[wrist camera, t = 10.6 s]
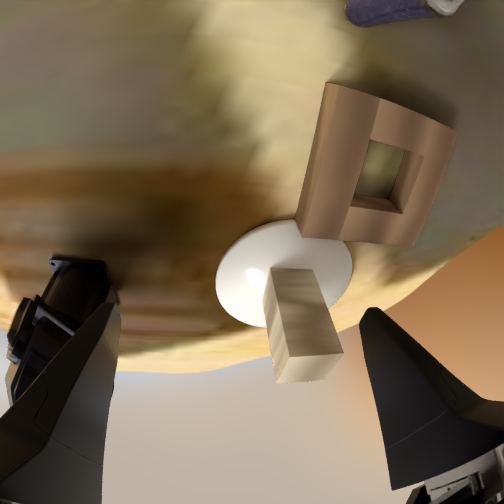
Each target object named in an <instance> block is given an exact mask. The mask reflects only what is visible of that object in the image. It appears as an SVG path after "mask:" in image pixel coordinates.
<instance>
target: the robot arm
mask: <svg viewBox="0 0 504 504" xmlns="http://www.w3.org/2000/svg"><path fill="white" fill-rule="evenodd" d="M53 262H54V263H53ZM49 265H50V267H51V270H52V273H53V276H52V278H51V279H50V281H49V283H48V285H47V287H46V289H45V291H44V293H43V295H42V297H40V296H39V295H37V294H36V295H35V297H34V298H33V299H31V298H30V299H29V298H25V297H24V298H23V299H22V300H21V302H20V304H19V306H18V308H17V310H16V312H15V314H14V317H13V319H12V322H11V324H10V327H9V330H8V333H7V338H8V342H9V344H8V352H7V359H9V360H10V361H11V363H10V366H9V369H8V371H7V374H6V377H5V381H6V387H7V393H8V399H9V404H10V408H9V409H8V410H7V412H6V413H5V414H4V415H3V416H2V417H1V418H0V504H102V503H101V502H102V474H103V458H104V447H105V438H106V429H107V421H108V414H109V407H110V401H111V397H112V394H113V390H114V377H115V372H116V367H117V359H118V348H119V338H120V329H121V317H120V314H119V310H118V307H117V304H116V302H117V298H116V295H115V291H114V287H113V283H112V282H111V281H110V278H109V274H108V270H107V265H106V263H105V262H103V261H95V260H80V259H67V258H51V259H50V261H49ZM100 266H102V267H100ZM359 329H360V334H361V339H362V346H363V351H364V358H365V362H366V367H367V370H368V374H369V378H370V382H371V386H372V390H373V394H374V399H375V403H376V407H377V412H378V416H379V421H380V426H381V431H382V436H383V441H384V445H385V452H386V458H387V464H388V470H389V476H390V483H391V488H392V490H397V489H400V488H403V487H407V486H410V485H413V484H416V483H419V482H422V481H424V484H423V485H421V486H419V487H417V488H415V489H413V491H412V493H411V495H410V497H409V498H408V500H407V503H406V504H504V402H502V401H492V400H487V399H484V398H481V397H480V396H479V395H477V394H476V393H475V392H473V391H472V390H471V389H470V388H469V387H467V386H466V385H465V384H464V383H462V382H461V381H460V380H459V379H458V378H456V377H455V376H454V375H453V374H452V373H451V372H449V371H448V370H447V369H446V368H445V367H444V366H443V365H442V364H441V363H439V361H438V360H436V359H435V358H434V357H433V356H432V355H431V354H430V353H429V352H428V351H427V350H426V349H425V348H424V347H422V346H421V345H420V344H419V343H418V342H417V341H416V340H415V339H414V338H412V337H411V336H410V335H409V334H408V333H407V332H406V331H405V330H403V329H402V328H401V327H400V326H399V325H398V324H397V323H396V322H394V321H393V320H392V319H391V318H390V317H389V316H387V315H386V314H385V313H384V312H383V311H382V310H381V309H380V308H378V307H370V308H368V309H367V310H366V312H365V313H364V315H363V317H362V318H361V320H360V323H359Z"/></svg>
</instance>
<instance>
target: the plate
mask: <svg viewBox="0 0 504 504" xmlns="http://www.w3.org/2000/svg"><path fill="white" fill-rule="evenodd" d="M352 267H353V266H352V258H351V255H350V252H349V250H348V248H347V246H346V245H345V243H344V242H343V241H342V240H329V239H315V238H302V236H301V234H300V232H299V229H298V227H297V224H296V222H295V219H290V220H280V221H276V222H271V223H268V224H265V225H262V226H259V227H257V228H255V229H253V230H251V231H249V232H248V233H246V234H244V235H243V236H241V237H240V238H239V239H238V240H236V241H235V242H234V243H233V244H232V245H231V246H230V247H229V248H228V249H227V251H226V252H225V253H224V255H223V257H222V258H221V260H220V262H219V265H218V268H217V272H216V292H217V296H218V299H219V301H220V303H221V304H222V306H223V307H224V309H225V310H226V311H227V312H228V313H229V314H230V315H232V316H233V317H235V318H236V319H238V320H240V321H242V322H244V323H247V324H250V325H254V326H258V327H266V328H267V326H266V321H265V315H264V309H263V303H262V297H263V293H264V289H265V285H266V281H267V276H268V272H269V268H291V269H313V272H314V274H315V277H316V279H317V282H318V284H319V287H320V290H321V292H322V295H323V297H324V300H325V303H326V305H327V308H328V309H329V308H330V307H331V306H333V305H334V304H335V303H336V302H337V301H338V300H339V298H340V297H341V296H342V295H343V293H344V292H345V290H346V288H347V287H348V285H349V282H350V279H351V275H352Z"/></svg>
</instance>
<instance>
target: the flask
mask: <svg viewBox="0 0 504 504" xmlns="http://www.w3.org/2000/svg"><path fill="white" fill-rule="evenodd" d="M464 1H465V0H348V1H347V3H346V4H345V5H344V11H345V15H346V20H349V21H350V22H351V23H352V24H354V25H355V26H357V27H361V28H365V27H370V26H373V25H377V24H386V23H390V22H395V21H403V20H410V19H419V18H444V17H449V16H451V15H452V14H453V13H454V12H455V11H456V10H457V9H458V8H459V7H460V6H461V5H462V3H463V2H464Z"/></svg>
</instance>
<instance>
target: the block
mask: <svg viewBox="0 0 504 504" xmlns="http://www.w3.org/2000/svg"><path fill="white" fill-rule="evenodd" d="M262 303H263V309H264V315H265V321H266V326H267V332H268V338H269V344H270V350H271V355H272V361H273V367H274V373H275V378H276V383H277V384H280V383H294V382H305V381H316V380H324V379H325V378H326V377H327V375H328V374H329V373H330V371H331V370H332V369H333V367H334V366H335V365H336V363H337V362H338V361H339V359H340V358H341V356H342V355H343V353H344V352H343V349H342V347H341V344H340V341H339V338H338V335H337V332H336V330H335V327H334V324H333V321H332V319H331V316H330V313H329V311H328V308H327V305H326V303H325V300H324V297H323V295H322V292H321V290H320V287H319V284H318V282H317V279H316V277H315V274H314V272H313V269H291V268H269V272H268V276H267V281H266V285H265V289H264V293H263V297H262Z"/></svg>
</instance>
